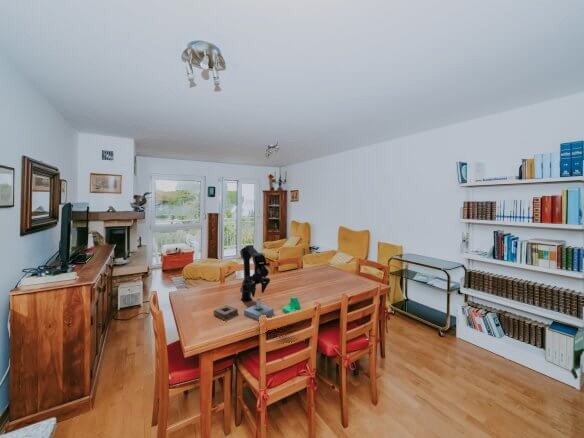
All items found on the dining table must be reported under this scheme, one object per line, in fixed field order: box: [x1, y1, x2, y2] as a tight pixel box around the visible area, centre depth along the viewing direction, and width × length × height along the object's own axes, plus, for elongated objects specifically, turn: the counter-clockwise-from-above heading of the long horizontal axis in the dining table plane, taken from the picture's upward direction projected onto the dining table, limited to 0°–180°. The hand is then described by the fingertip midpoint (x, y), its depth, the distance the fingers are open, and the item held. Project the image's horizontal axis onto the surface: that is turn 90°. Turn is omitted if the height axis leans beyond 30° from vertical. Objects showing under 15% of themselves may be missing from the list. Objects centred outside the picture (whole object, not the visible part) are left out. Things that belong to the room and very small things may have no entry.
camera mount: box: [282, 296, 302, 314], centre depth 172 cm, size 12×8×10 cm, turn 43°
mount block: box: [213, 304, 239, 320], centre depth 167 cm, size 11×11×3 cm
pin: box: [256, 297, 262, 311], centre depth 169 cm, size 3×3×10 cm
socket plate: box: [243, 303, 274, 321], centre depth 169 cm, size 14×14×3 cm
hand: (258, 294), depth 172 cm, fingers open, 9 cm apart
